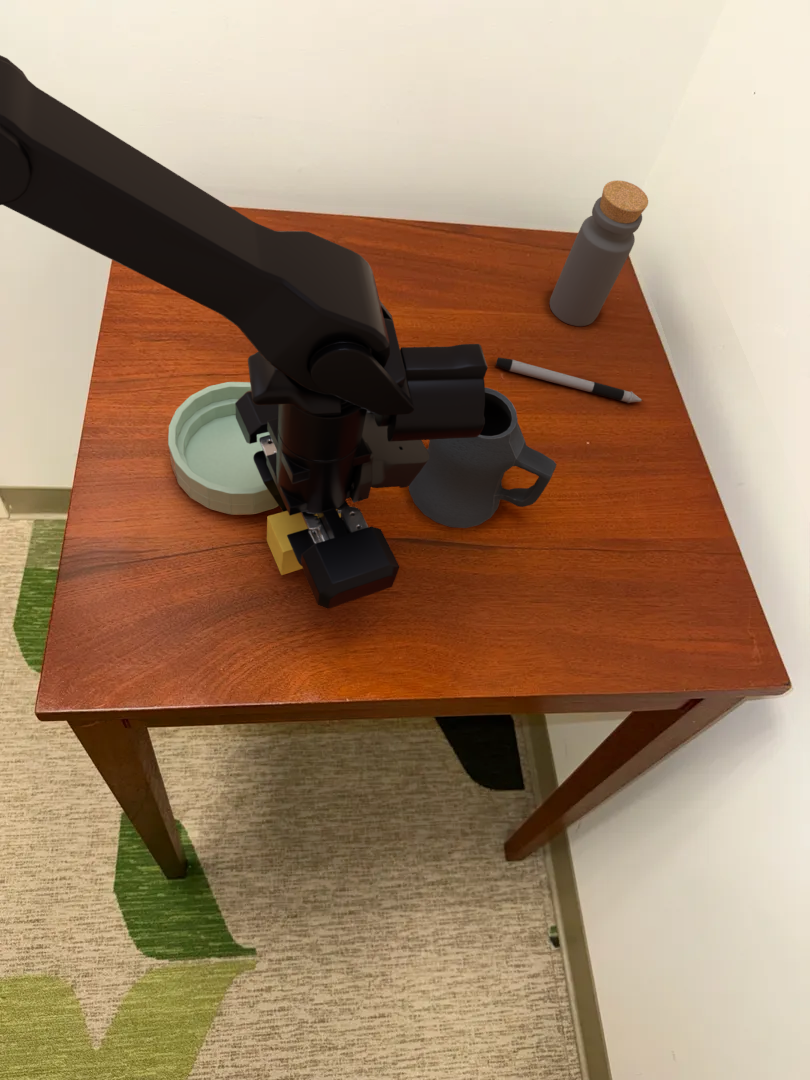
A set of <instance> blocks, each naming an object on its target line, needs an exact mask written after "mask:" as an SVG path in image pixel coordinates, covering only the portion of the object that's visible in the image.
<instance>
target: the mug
mask: <svg viewBox="0 0 810 1080" xmlns="http://www.w3.org/2000/svg"><path fill="white" fill-rule="evenodd" d="M517 413H518V412H517V409H516V408H515V406H514V404H513V403H512V401H511V400H510V399H509V398H508V397H507V396H506V395H504V394H503V393H501V392H499V391H498V390H496V389H493V388H490V387H487V386H485V408H484V418H485V424H484V427H483V430H482V432H481V433H480V435H479V436H477V437H472V438H452V439H432V440H429V441H428V447H427V448H426V449H427V451H428V453H429V460H428V461H427V463H426V464H425V465H424V467H423V468H422V469H421V471H420V472H419V473H418V475H417V476H416V477H415V478H414V480H413V481H412V482H411V484H410V485H409V486H408V491H409V494H410V496H411V499H412V501H413V503H414V504H415V506H416V507H417V508H418V509H419V510H420V512H421V513H422V515H424V516H426V517H428V518H429V519H430V520H432V521H434V522H435V523H437V524H439V525H443V526H446V527H449V528H457V529H458V528H459V529H461V528H462V529H467V528H472V527H476V526H480V525H482V524H483V523H484V522H486V521H488V520H490V519H491V518H492V517H493V515H494V514H495V513H496V512H497V510H498V509H499V506H500V502H501V501H502V500H503V501H505V502H508V503H510V504H512V505H515V506H517V507H520V508H524V507H528V506H532V505H534V504H535V503H536V502H537V501H538V499H539V497H540V496H541V495H542V494H543V492H544V491H545V489H546V488H547V486H548V484H549V483H550V481H551V480H552V477H553V474H554V472H555V470H556V468H557V463H556V461H554V459H552V458H550V457H548V456H547V455H546V454H544V453H543V452H540V451H539V450H536V449H533V448H532V447H530V446H528V445H527V442H526V439H525V437H524V434H523V432H522V429H521V427H520V424H519V420H518V414H517ZM513 467H517V468H519V469H522V470H525V471H527V472H529V473H531V474H533V475H536V476H537V477H538V478H537V479H536V480H535V482H534V484H533V485H531V486H529V487H514V488H509V489H507V488H504V487H503V483H502V481H503V478H504V476H505V473H506V472H507V471H508V470H510V469H511V468H513Z"/></svg>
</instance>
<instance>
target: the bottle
mask: <svg viewBox="0 0 810 1080" xmlns="http://www.w3.org/2000/svg"><path fill="white" fill-rule="evenodd" d="M647 195H648V194H646V192H645V191H644V190H643V189H642V188H640V187H639V186H637V185H636V184H634V183H631V182H628V181H625V180H611V181H608V182H607V183H606V184H605V185H604V186H603V189H602V193H601V196H600V197H599V198H597V199H596V201H595V203H594V204H593V207H592V209H591V215H590V216H588V217H587V218H585V219H584V220H583V222H582V224H581V226H580V228H579V230H578V233H577V234H576V237H575V239H574V242H573V244H572V246H571V248H570V250H569V253H568V255H567V258H566V260H565V262H564V265H563V267H562V269H561V272H560V274H559V276H558V279H557V280H556V284H555V286H554V289H553V291H552V293H551V296H550V298H549V308H550V310H551V313H552V314H553V315H554V316H555V317H556V318H557V319H558V320H560V321H561V322H563V323H565V324H568V325H569V326H574V327H586V326H588V325H591V324H593V323H594V322H595V320H596V319H597V318H598V316H599V315H600V312H601V310H602V308H603V306H604V305H605V303H606V300H607V298H608V296H609V295H610V293H611V291H612V289H613V287H614V285H615V283H616V281H617V279H618V277H619V275H620V273H621V271H622V269H623V267H624V266H625V263H626V261H627V260H628V257H629V255H630V254H631V251H632V250H633V247H634V245H635V239H636V238H635V234H634V233H636V232H637V231H638V229H639V227H640V226H641V224H642V221H643V212H644V211H645V210H646V208H647V207H648V205H649V199H648V198H649V197H648V196H647Z"/></svg>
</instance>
